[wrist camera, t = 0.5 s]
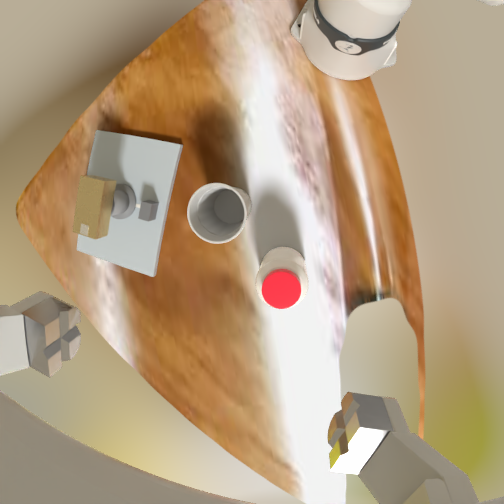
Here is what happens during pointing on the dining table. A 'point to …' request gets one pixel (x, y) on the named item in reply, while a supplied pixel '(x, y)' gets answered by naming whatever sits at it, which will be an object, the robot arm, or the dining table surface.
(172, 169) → the base
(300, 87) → the dining table surface
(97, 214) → the tan parcel with label
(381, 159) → the dining table surface
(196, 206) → the cup
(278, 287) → the pill bottle
